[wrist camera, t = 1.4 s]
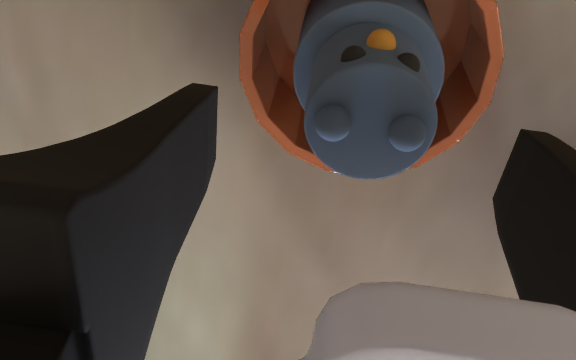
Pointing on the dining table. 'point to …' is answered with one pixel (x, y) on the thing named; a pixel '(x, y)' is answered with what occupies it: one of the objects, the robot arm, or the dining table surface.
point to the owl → (368, 84)
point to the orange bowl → (450, 103)
